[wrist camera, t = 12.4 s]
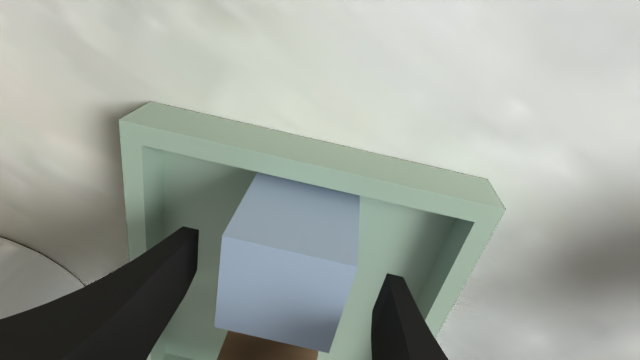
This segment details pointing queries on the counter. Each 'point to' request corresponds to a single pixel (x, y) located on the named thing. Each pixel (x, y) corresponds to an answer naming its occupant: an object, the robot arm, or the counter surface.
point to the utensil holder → (30, 279)
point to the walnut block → (261, 349)
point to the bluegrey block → (288, 262)
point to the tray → (308, 167)
